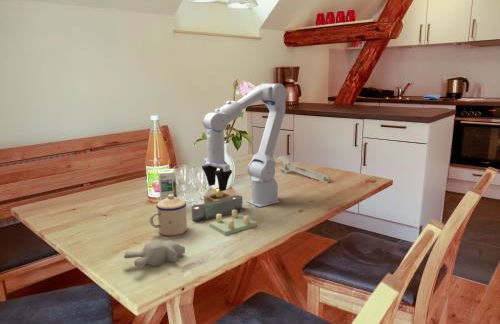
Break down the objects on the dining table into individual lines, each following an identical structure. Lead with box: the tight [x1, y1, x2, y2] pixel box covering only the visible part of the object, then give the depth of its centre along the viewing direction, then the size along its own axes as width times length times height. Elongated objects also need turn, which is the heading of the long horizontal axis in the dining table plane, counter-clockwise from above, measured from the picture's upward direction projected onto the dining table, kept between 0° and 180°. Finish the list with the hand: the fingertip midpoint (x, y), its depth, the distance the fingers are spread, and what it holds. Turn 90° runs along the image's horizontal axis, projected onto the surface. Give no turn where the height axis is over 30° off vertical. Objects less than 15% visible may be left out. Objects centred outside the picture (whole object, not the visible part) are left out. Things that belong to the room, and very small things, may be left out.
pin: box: [215, 187, 224, 199], centre depth 148 cm, size 3×3×6 cm
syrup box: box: [157, 168, 178, 201], centre depth 143 cm, size 6×6×14 cm
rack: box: [209, 210, 258, 236], centre depth 128 cm, size 12×9×4 cm
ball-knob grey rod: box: [191, 194, 244, 223], centre depth 138 cm, size 20×4×5 cm, turn 127°
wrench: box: [276, 155, 331, 184], centre depth 183 cm, size 8×2×30 cm
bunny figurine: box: [123, 240, 186, 268], centre depth 105 cm, size 10×5×15 cm
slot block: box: [203, 191, 232, 204], centre depth 149 cm, size 8×8×3 cm
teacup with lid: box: [149, 194, 188, 236], centre depth 123 cm, size 12×9×12 cm
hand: (217, 187), depth 137 cm, fingers open, 7 cm apart
